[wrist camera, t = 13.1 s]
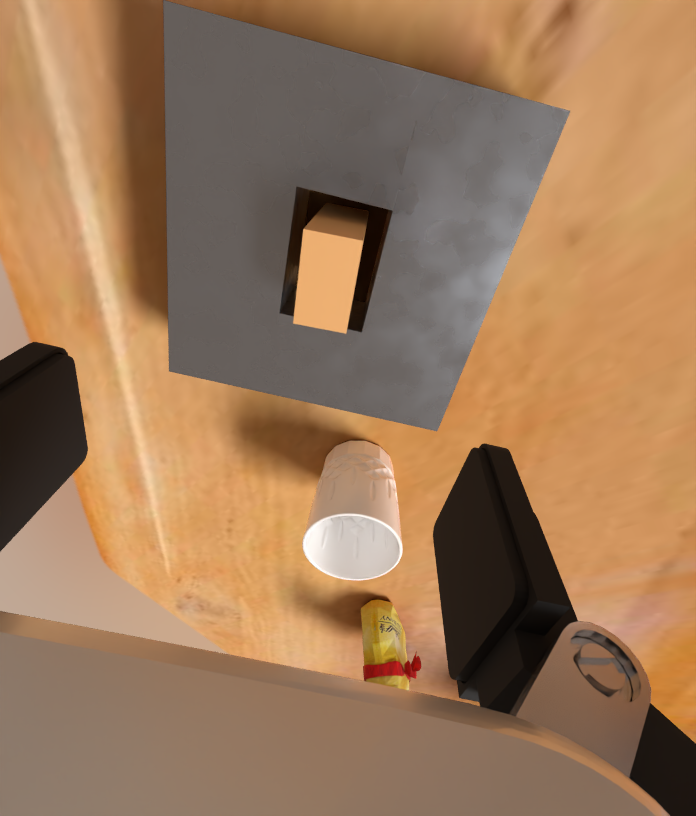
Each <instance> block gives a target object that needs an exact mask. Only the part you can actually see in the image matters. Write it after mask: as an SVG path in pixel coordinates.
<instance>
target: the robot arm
mask: <svg viewBox="0 0 696 816" xmlns="http://www.w3.org/2000/svg"><path fill="white" fill-rule="evenodd" d="M87 451H88V446H87V440H86V433H85V427H84V420H83V414H82V407H81V401H80V394H79V388H78V381H77V375H76V368H75V363H74V360H73V358H72V357H70V356H68V353H67V352H66V350H65V349H63V348H60V347H56V346H52V345H47V344H43V343H38V342H32V343H30V344H28V345H26V346H24V347H23V348H21V349H19V350H17V351H16V352H14V353H12V354H11V355H9V356H7V357H6V358H4V359H2V360H0V551H1V550H2V549H3V548H4V547H5V546H6V545H7V543H9V542H10V541H11V539H12V538H13V537H14V536H15V535H16V534H17V533H18V532H19V531H20V530H21V529H22V528H23V527H24V525H25V524H26V523H27V522H28V521H29V520H30V519H31V518H32V517H33V516H34V515H35V514H36V512H37V511H38V510H39V509H40V508H41V507H42V506H43V505H44V504H45V503H46V502H47V501H48V500H49V498H50V497H51V496H52V495H53V494H54V493H55V492H56V491H57V490H58V489H59V488H60V487H61V486H62V484H63V483H64V482H65V481H66V480H67V479H68V478H69V477H70V476H71V475H72V474H73V473H74V472H75V470H76V469H77V468H78V467H79V466H80V465H81V464H82V463H83V461H84V460H85V458H86V455H87ZM433 540H434V549H435V557H436V566H437V574H438V583H439V592H440V600H441V609H442V617H443V626H444V635H445V643H446V652H447V660H448V669H449V674H450V677H451V678H452V679H454V680H457V684H458V692H459V698H462V699H467V700H473V701H478V702H480V706H476V705H472V704H468V703H464V702H460V701H455V700H450V699H446V698H441V697H436V696H432V695H427V694H423V693H418V692H413V691H409V690H404V689H399V688H395V687H390V686H386V685H381V684H376V683H371V682H366V681H361V680H356V679H350V678H345V677H340V676H335V675H330V674H325V673H320V672H315V671H310V670H305V669H300V668H295V667H290V666H285V665H280V664H274V663H269V662H264V661H259V660H254V659H249V658H244V657H239V656H234V655H228V654H223V653H218V652H212V651H208V650H202V649H197V648H192V647H187V646H182V645H176V644H171V643H166V642H161V641H156V640H150V639H145V638H140V637H135V636H129V635H124V634H119V633H114V632H108V631H103V630H98V629H93V628H88V627H82V626H77V625H72V624H66V623H61V622H56V621H51V620H45V619H40V618H35V617H29V616H24V615H18V614H13V613H7V612H2V611H0V816H696V744H695V743H694V742H693V741H692V740H691V739H690V738H689V737H688V736H686V735H685V734H684V733H683V732H682V731H681V730H680V729H679V728H678V727H676V726H675V725H674V724H673V723H672V722H671V721H670V720H669V719H667V718H666V717H665V716H664V715H663V714H662V713H661V712H660V711H659V710H657V709H656V708H655V707H654V706H653V705H652V704H651V703H650V701H651V687H650V684H649V680H648V677H647V674H646V672H645V671H644V669H643V667H642V665H641V663H640V662H639V660H638V659H637V658H636V656H635V655H634V654H633V653H632V651H631V650H630V649H629V648H628V647H627V646H626V645H625V644H624V643H623V642H622V641H621V640H620V639H619V638H618V637H616V636H615V635H614V634H612V633H610V632H609V631H607V630H606V629H604V628H603V627H600V626H598V625H595V624H593V623H590V622H583V621H578V620H577V617H576V615H575V612H574V610H573V607H572V605H571V602H570V600H569V597H568V594H567V592H566V589H565V587H564V584H563V582H562V579H561V577H560V574H559V572H558V569H557V567H556V564H555V562H554V559H553V556H552V554H551V551H550V549H549V546H548V544H547V541H546V539H545V536H544V534H543V531H542V529H541V526H540V523H539V521H538V519H537V517H536V515H535V513H534V512H533V510H532V507H531V505H530V502H529V500H528V497H527V495H526V492H525V489H524V487H523V484H522V482H521V479H520V477H519V474H518V471H517V469H516V466H515V464H514V461H513V459H512V456H511V454H510V451H509V450H508V449H506V448H502V447H498V446H493V445H489V444H482V445H481V446H480V447H479V448H473V449H472V450H471V451H470V453H469V455H468V457H467V459H466V461H465V463H464V465H463V467H462V469H461V471H460V474H459V476H458V478H457V480H456V482H455V484H454V486H453V488H452V490H451V492H450V494H449V496H448V498H447V500H446V502H445V504H444V506H443V508H442V510H441V512H440V514H439V516H438V518H437V520H436V523H435V526H434V531H433Z"/></svg>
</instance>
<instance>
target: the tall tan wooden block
mask: <svg viewBox="0 0 696 816" xmlns="http://www.w3.org/2000/svg"><path fill="white" fill-rule="evenodd" d="M368 215H369V211H366V210H361V209H356V208H351V207H346V206H341V205H336V204H331V203H326V204H325V205H324V206H323V207H322V208H321V210H320V211H319V212H318V213H317V214H316V215H315V216H314V217H313V219H312V220H311V221H310V222H309V223H308V224H307V225H306V227H305V228H304V229H303V237H302V246H301V256H300V265H299V274H298V283H297V292H296V302H295V311H294V320H293V324H298V325H304V326H309V327H314V328H319V329H324V330H330V331H335V332H340V333H345V334H346V332H347V327H348V322H349V316H350V311H351V306H352V301H353V296H354V291H355V286H356V280H357V275H358V270H359V264H360V259H361V253H362V248H363V242H364V237H365V232H366V226H367V221H368Z"/></svg>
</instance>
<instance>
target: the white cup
mask: <svg viewBox="0 0 696 816" xmlns="http://www.w3.org/2000/svg"><path fill="white" fill-rule="evenodd" d="M302 545H303V551H304V553H305V556H306V557H307V559H308V560H309V561H310V563H311V564H312V565H313V566H315V567H316V568H317V569H319V570H320V571H322V572H324V573H326V574H328V575H330V576H333V577H336V578H340V579H346V580H367V579H372V578H376V577H379V576H382V575H384V574H386V573H387V572H389V571H390V570H392V569H393V568H394V567H395V566H396V565H397V564H398V562H399V560H400V558H401V556H402V539H401V529H400V518H399V507H398V500H397V492H396V484H395V480H394V471H393V466H392V462H391V459H390V456H389V455H388V454H387V453H386V452H385V451H384V450H383V449H382V448H381V447H380V446H378V445H375V444H373V443H370V442H367V441H347V442H344V443H342V444H339V445H337V446H335V447H334V448H333V449H332V450H331V451H330V453H329V454H328V455H327V456H326V459H325V464H324V468H323V471H322V475H321V477H320V478H319V482H318V485H317V488H316V492H315V495H314V498H313V502H312V506H311V510H310V514H309V518H308V522H307V526H306V529H305V533H304V537H303V543H302Z"/></svg>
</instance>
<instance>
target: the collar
mask: <svg viewBox="0 0 696 816" xmlns="http://www.w3.org/2000/svg"><path fill="white" fill-rule="evenodd" d="M163 8H164V73H165V139H166V205H167V270H168V336H169V371H170V372H175V373H179V374H184V375H188V376H192V377H197V378H201V379H206V380H210V381H215V382H219V383H224V384H228V385H233V386H237V387H242V388H246V389H251V390H255V391H260V392H264V393H268V394H273V395H277V396H282V397H286V398H291V399H295V400H300V401H304V402H309V403H313V404H318V405H322V406H327V407H331V408H335V409H340V410H344V411H349V412H353V413H358V414H362V415H367V416H371V417H376V418H380V419H385V420H389V421H394V422H398V423H403V424H407V425H411V426H416V427H420V428H425V429H429V430H434V431H437V430H438V428H439V426H440V423H441V421H442V418H443V416H444V414H445V411H446V409H447V406H448V404H449V402H450V399H451V397H452V394H453V392H454V390H455V387H456V385H457V382H458V380H459V378H460V375H461V373H462V370H463V368H464V365H465V363H466V361H467V358H468V356H469V353H470V351H471V349H472V346H473V344H474V341H475V339H476V337H477V334H478V332H479V329H480V327H481V325H482V322H483V320H484V317H485V315H486V313H487V310H488V308H489V305H490V303H491V301H492V298H493V296H494V293H495V291H496V289H497V286H498V284H499V281H500V279H501V277H502V274H503V272H504V269H505V267H506V265H507V262H508V260H509V257H510V255H511V253H512V250H513V248H514V245H515V243H516V240H517V238H518V236H519V233H520V231H521V228H522V226H523V224H524V221H525V219H526V216H527V214H528V212H529V209H530V207H531V204H532V202H533V200H534V197H535V195H536V192H537V190H538V188H539V185H540V183H541V180H542V178H543V176H544V173H545V171H546V168H547V166H548V164H549V161H550V159H551V156H552V154H553V152H554V149H555V147H556V144H557V142H558V140H559V137H560V135H561V132H562V130H563V127H564V125H565V123H566V120H567V118H568V115H569V113H570V111H568V110H565V109H561V108H557V107H554V106H550V105H546V104H543V103H539V102H535V101H532V100H528V99H524V98H521V97H517V96H513V95H510V94H506V93H502V92H499V91H495V90H491V89H488V88H484V87H480V86H477V85H473V84H469V83H466V82H462V81H458V80H455V79H451V78H447V77H444V76H440V75H436V74H433V73H429V72H425V71H422V70H418V69H414V68H411V67H407V66H403V65H400V64H396V63H392V62H389V61H385V60H381V59H378V58H374V57H370V56H367V55H363V54H359V53H356V52H352V51H348V50H345V49H341V48H337V47H334V46H330V45H326V44H323V43H319V42H315V41H312V40H308V39H304V38H301V37H297V36H293V35H290V34H286V33H282V32H279V31H275V30H271V29H268V28H264V27H260V26H257V25H253V24H249V23H246V22H242V21H238V20H235V19H231V18H227V17H224V16H220V15H216V14H213V13H209V12H205V11H202V10H198V9H194V8H191V7H187V6H183V5H180V4H176V3H172V2H169V1H165V0H163ZM310 190H313V191H317V192H321V193H325V194H329V195H333V196H337V197H341V198H345V199H349V200H353V201H357V202H361V203H365V204H369V205H373V206H377V207H381V208H384V209H388V213H387V217H386V221H385V225H384V229H383V233H382V237H381V241H380V245H379V249H378V253H377V257H376V262H375V266H374V270H373V274H372V278H371V282H370V286H369V290H368V294H367V298H366V302H361V301H357V300H353V301H352V306H351V311H350V316H349V322H348V327H347V332H346V334H345V333H340V332H335V331H330V330H324V329H319V328H314V327H309V326H304V325H298V324H293V320H294V311H295V302H296V292H297V286H296V280H297V274H298V267H299V260H300V254H301V246H302V237H303V229H304V227H305V221H306V214H307V208H308V201H309V195H310Z"/></svg>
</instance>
